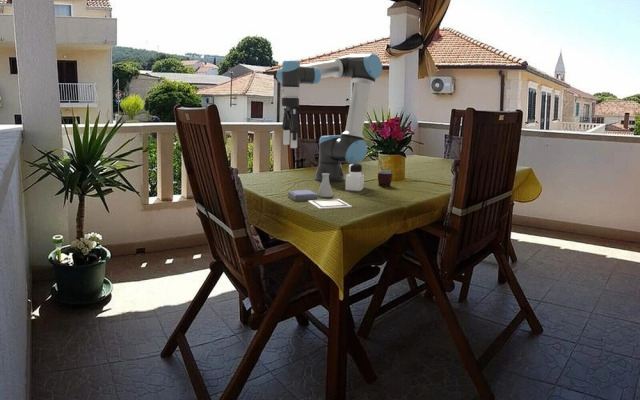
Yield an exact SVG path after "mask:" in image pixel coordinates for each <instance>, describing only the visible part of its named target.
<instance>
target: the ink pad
mask: <svg viewBox="0 0 640 400" xmlns="http://www.w3.org/2000/svg"><path fill="white" fill-rule="evenodd" d="M287 192H288V194H287V195H288V197H289V198H290V199H291V200H293V201H294V202H304V201H305V202H306V201H307V202H308V201H310V200H319V196H318V195H317V193H316V192H314V191H312V190H310V189H304V190H302V189H301V190H289V191H287Z"/></svg>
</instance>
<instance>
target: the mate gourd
mask: <svg viewBox="0 0 640 400" xmlns="http://www.w3.org/2000/svg"><path fill="white" fill-rule="evenodd" d="M375 158H376V159H378V162H379V165H380V169H379V170H378V172H377V181H378V182H377V183H378V186H379V187H380V186H381V188H382V187H383V188H384V187H388V188H389V187H391V183H392V178H393V173H392V171H391V169H386V168H384V169H383V166H382V162H381V159H380V158H379V157H377V156H375Z"/></svg>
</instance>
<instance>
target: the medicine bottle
mask: <svg viewBox="0 0 640 400" xmlns="http://www.w3.org/2000/svg"><path fill="white" fill-rule="evenodd" d="M362 171H363V167H362V165H361V164H358V163H350V164H349V165H348V174H346V175H345V187H344V188H345V191H352V192H353V191H355V192H361V191H363V189H364V186H365V185H364V183H365V174H364V173H362Z"/></svg>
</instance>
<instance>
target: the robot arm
mask: <svg viewBox="0 0 640 400" xmlns="http://www.w3.org/2000/svg"><path fill="white" fill-rule="evenodd" d="M300 63H301V62H300V61H299V60H297V59H296V60H293V59H292V60H291V59H287V60H286V59H285V60H283V61H282V65H281V67H280V68H278V70H277V71H276V80H277V81H278V83H280V84H281V89H280V92H281V97H282V98H281V106H282V107H284V108H283V117H282V118H283V119H282V126H281V127H282V130H283V132H282V133H283V134H282V135H283V136H282V137H283V138H282V140H283V145H284V146H285V145H286V146H287V145H289V146H290V149H297V148H298V133H299V132H300V129H299V120H298V109H297V108H298V107H300V98H299V97H300V85H317V84H319V82H320V81H321V79H326V78H336V79H338V78H339V79H340V78H347V79H351V81H352V83H353V87H352V92H351V97H350V103H349V108H348V112H347V113H348V114H347V119H346V125H345V130H344V131H343V132H342V133H341V134H337V135H336V134H334V135H321V136H320V137H319V142H318V166H317V167H316V172H315V175H314V176H315V178H314V179H315V180H316V181H319V182H322V178H323V175H322V174H323V173H328V174H329V183H330V182H334V183H335V182H342V181H345V175H344V171H343V167H342V162H343V163H349V164H358V163H360V162H362V161H363V160H364V159H365V158H366V155H367V152H368V146H367V142H365V137H364V135H363V130H364V124H365V120H366V114H367V109H368V105H369V104H368V103H369V99H370V94H371V93H370V92H371V88H372V87H373V85H375V84H376V79H378V78H379V77H381V75H382V72H383V63H382V61H381V58H380V57H379V55H377V54H376V53H359V54H358V53H357V54H355V53H354V54H352V53H351V54H348V55H344V56H340V57H334V58H332V59H331V60H329V61H321V62H313V63H307V64H300ZM296 107H297V108H296Z"/></svg>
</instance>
